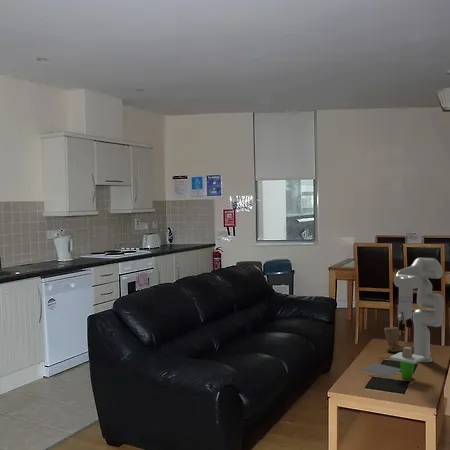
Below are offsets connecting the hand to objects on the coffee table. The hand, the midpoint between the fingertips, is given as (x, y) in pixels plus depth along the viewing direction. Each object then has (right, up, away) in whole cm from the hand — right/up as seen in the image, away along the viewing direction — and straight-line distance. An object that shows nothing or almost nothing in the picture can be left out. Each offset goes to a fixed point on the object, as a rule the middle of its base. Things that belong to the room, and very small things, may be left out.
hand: (405, 328), depth 298 cm
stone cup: (+11, -25, +57) cm, 63 cm away
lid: (-1, -16, -5) cm, 16 cm away
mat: (-10, -26, +10) cm, 30 cm away
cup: (-1, -27, -4) cm, 27 cm away
